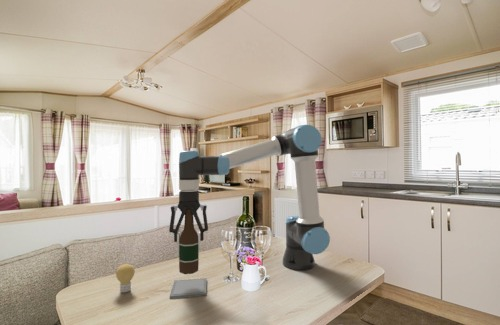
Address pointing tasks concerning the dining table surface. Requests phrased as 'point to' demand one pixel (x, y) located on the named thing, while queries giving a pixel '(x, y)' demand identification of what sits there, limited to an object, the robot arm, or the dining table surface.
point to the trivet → (189, 288)
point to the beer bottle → (188, 246)
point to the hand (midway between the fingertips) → (189, 249)
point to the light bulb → (125, 277)
